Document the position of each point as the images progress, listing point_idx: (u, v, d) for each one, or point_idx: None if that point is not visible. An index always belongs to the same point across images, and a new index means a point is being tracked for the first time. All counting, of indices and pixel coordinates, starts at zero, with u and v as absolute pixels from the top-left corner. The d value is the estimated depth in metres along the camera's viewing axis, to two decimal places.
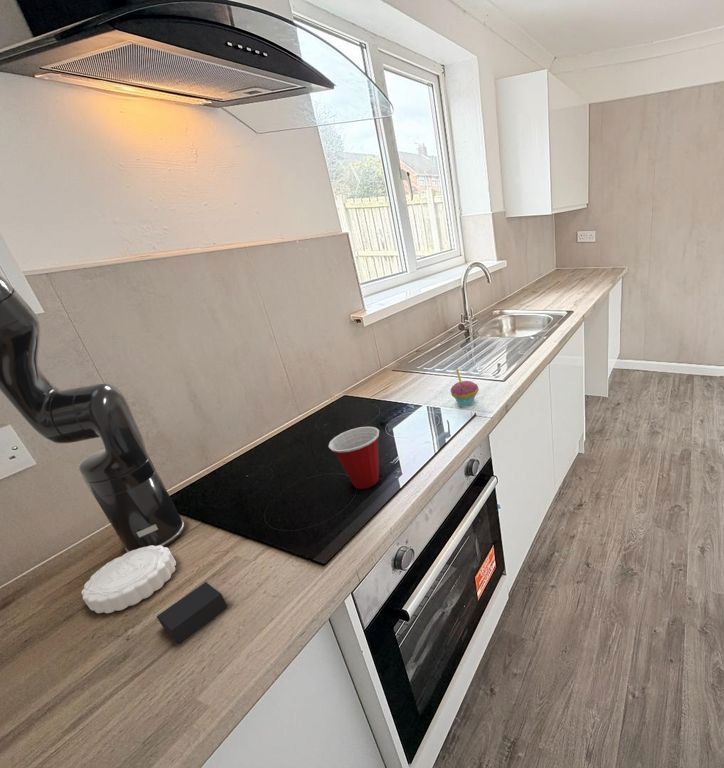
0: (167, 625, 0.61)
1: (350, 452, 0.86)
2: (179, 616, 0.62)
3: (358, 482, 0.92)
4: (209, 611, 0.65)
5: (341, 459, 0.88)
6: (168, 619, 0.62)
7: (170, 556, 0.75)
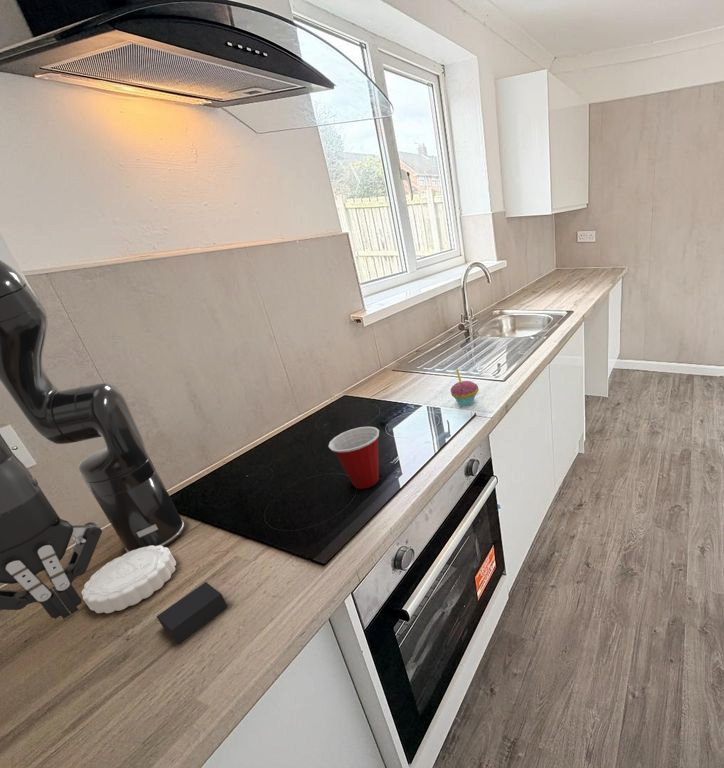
0: (167, 625, 0.61)
1: (350, 452, 0.86)
2: (179, 616, 0.62)
3: (358, 482, 0.92)
4: (209, 611, 0.65)
5: (341, 459, 0.88)
6: (168, 619, 0.62)
7: (170, 556, 0.75)
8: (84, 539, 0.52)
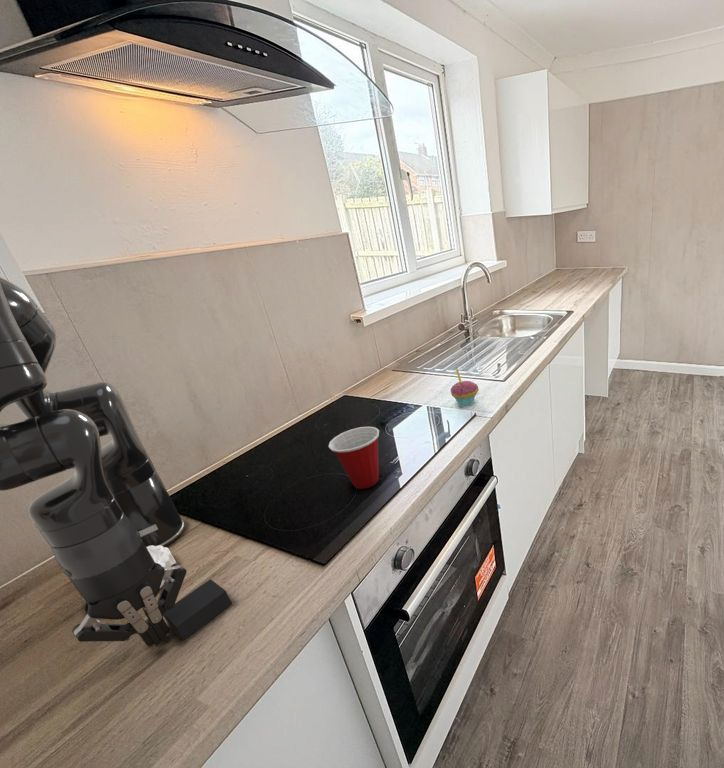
0: (172, 621, 0.62)
1: (350, 452, 0.86)
2: (184, 612, 0.63)
3: (358, 482, 0.92)
4: (214, 608, 0.65)
5: (341, 459, 0.88)
6: (173, 616, 0.62)
7: (170, 556, 0.75)
8: (173, 579, 0.61)
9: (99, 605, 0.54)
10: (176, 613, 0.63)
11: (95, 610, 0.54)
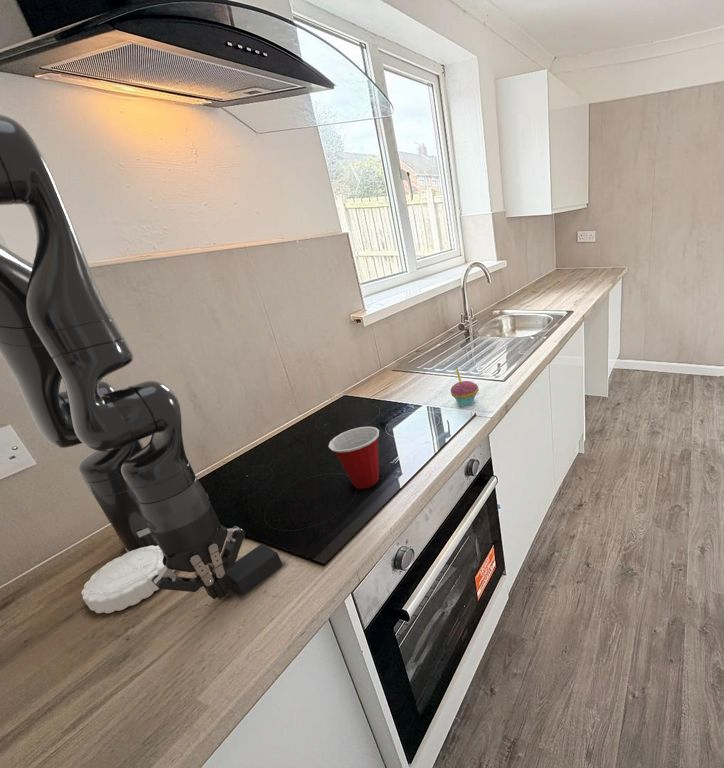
0: (233, 578, 0.68)
1: (350, 452, 0.86)
2: (243, 571, 0.70)
3: (358, 482, 0.92)
4: (268, 568, 0.72)
5: (341, 459, 0.88)
6: (233, 573, 0.69)
7: None
8: (234, 539, 0.68)
9: (175, 558, 0.61)
10: (235, 571, 0.70)
11: (172, 562, 0.60)
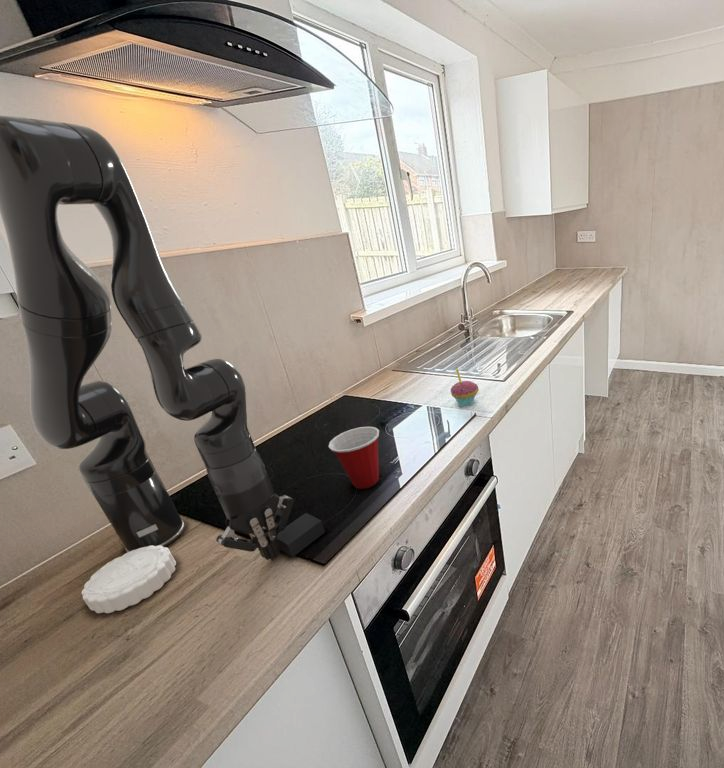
0: (283, 541, 0.75)
1: (350, 452, 0.86)
2: (291, 535, 0.76)
3: (358, 482, 0.92)
4: (313, 533, 0.79)
5: (341, 459, 0.88)
6: (283, 538, 0.76)
7: (170, 556, 0.75)
8: (285, 506, 0.74)
9: (237, 519, 0.68)
10: (285, 536, 0.76)
11: (234, 523, 0.67)
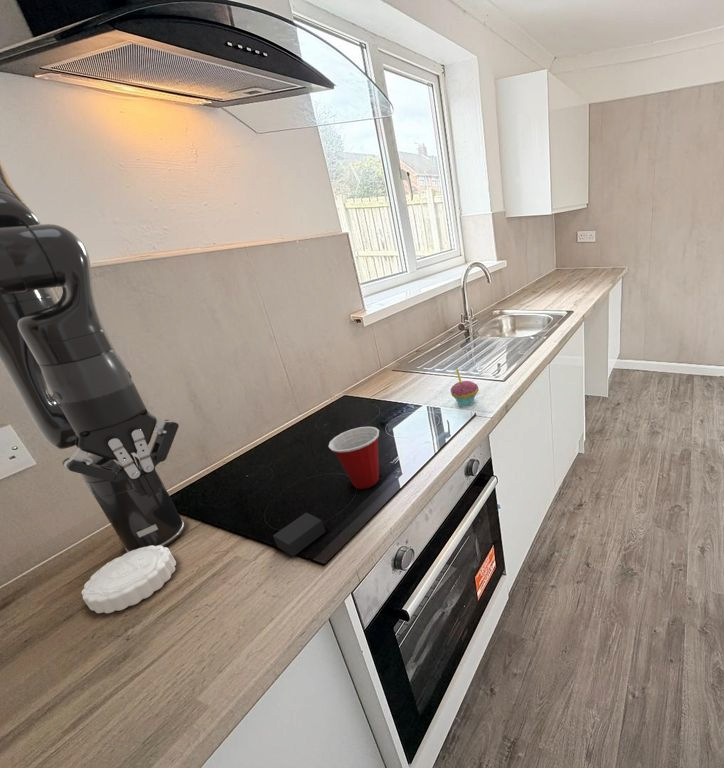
0: (284, 541, 0.75)
1: (350, 452, 0.86)
2: (292, 535, 0.77)
3: (358, 482, 0.92)
4: (313, 533, 0.79)
5: (341, 459, 0.88)
6: (283, 537, 0.76)
7: (170, 556, 0.75)
8: (165, 430, 0.61)
9: (90, 438, 0.54)
10: (285, 535, 0.77)
11: (86, 442, 0.53)
